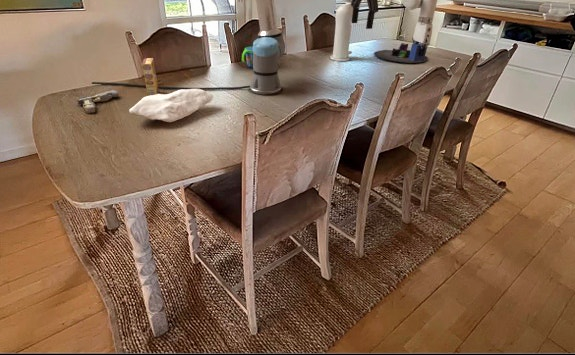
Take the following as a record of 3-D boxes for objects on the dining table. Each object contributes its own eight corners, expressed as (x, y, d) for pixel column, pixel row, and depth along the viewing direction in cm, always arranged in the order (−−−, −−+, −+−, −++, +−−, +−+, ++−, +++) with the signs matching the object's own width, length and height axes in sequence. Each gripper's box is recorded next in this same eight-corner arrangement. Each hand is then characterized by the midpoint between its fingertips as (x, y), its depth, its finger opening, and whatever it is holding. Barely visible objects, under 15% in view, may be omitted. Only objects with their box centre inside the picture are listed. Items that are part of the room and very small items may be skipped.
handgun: (128, 97, 156) (111, 87, 164) (86, 107, 144) (70, 97, 152) (129, 103, 157) (113, 94, 165) (88, 114, 146) (72, 103, 154)
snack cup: (261, 62, 218) (261, 45, 213) (270, 67, 211) (270, 49, 205) (237, 65, 211) (237, 47, 205) (246, 70, 203) (246, 51, 198)
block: (424, 60, 209) (427, 45, 204) (413, 61, 207) (417, 46, 202) (418, 58, 213) (422, 43, 208) (408, 58, 211) (411, 43, 206)
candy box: (157, 97, 164) (152, 63, 155) (147, 98, 163) (141, 63, 155) (158, 91, 171) (153, 57, 163) (149, 91, 170) (143, 58, 162)
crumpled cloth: (117, 110, 146) (113, 90, 140) (195, 92, 166) (194, 73, 160) (143, 139, 134) (140, 118, 128) (223, 116, 154) (224, 96, 148)
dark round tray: (438, 59, 239) (441, 44, 234) (403, 65, 221) (405, 50, 217) (397, 50, 264) (399, 37, 259) (362, 56, 246) (363, 42, 242)
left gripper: (392, -25, 147) (383, 30, 159) (361, -29, 167) (355, 20, 178) (376, -25, 145) (368, 31, 157) (347, -30, 165) (341, 21, 176)
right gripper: (441, 23, 193) (432, 58, 202) (421, 17, 206) (414, 50, 216) (429, 23, 190) (421, 58, 200) (410, 17, 204) (403, 51, 214)
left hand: (361, 25), depth 167 cm, fingers open, 13 cm apart
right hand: (417, 54), depth 208 cm, fingers closed on block, 4 cm apart
